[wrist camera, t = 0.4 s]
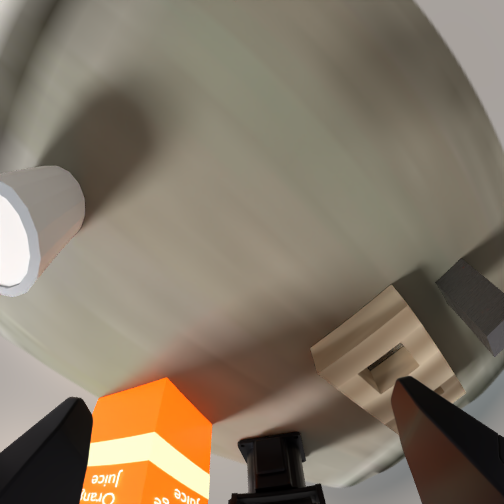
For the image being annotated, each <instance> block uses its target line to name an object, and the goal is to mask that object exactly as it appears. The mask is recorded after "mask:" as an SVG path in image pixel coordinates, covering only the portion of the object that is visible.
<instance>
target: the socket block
mask: <svg viewBox="0 0 504 504" xmlns="http://www.w3.org/2000/svg"><path fill="white" fill-rule="evenodd" d="M400 342H401V343H402V344H403V345H404V346H403V347H402V348H400V349H399V350H398V351H397V352H395V353H394V354H393V355H391V356H390V357H389V358H387V359H386V360H385V361H383V362H382V363H381V364H379V365H378V366H376V367H375V368H374V369H372V370H371V371H370V370H369V369H368V368H367V367H368V366H369V365H371V364H372V363H374V362H375V361H376V360H378V359H379V358H380V357H382V356H383V355H384V354H386V353H387V352H388V351H390V350H391V349H392V348H393V347H395V346H396V345H397V344H399V343H400ZM310 349H311V353H312V357H313V360H314V364H315V367H316V371H317V374H318V375H319V376H321V377H322V378H323V379H325V380H326V381H327V382H328V383H330V384H331V385H332V386H334V387H335V388H336V389H338V390H339V391H340V392H341V393H343V394H344V395H345V396H347V397H348V398H349V399H351V400H352V401H353V402H355V403H356V404H357V405H359V406H360V407H361V408H363V409H364V410H365V411H367V412H368V413H369V414H371V415H372V416H373V417H375V418H376V419H378V420H379V421H380V422H382V423H383V424H384V425H386V426H387V427H389V428H390V429H391V430H393V431H394V432H396V433H397V434H398V435H399V433H398V429H397V425H396V421H395V417H394V413H393V410H392V406H391V396H392V392H393V389H394V385H395V382H396V380H397V379H398V378H400V377H405V376H412V377H414V378H415V379H417V380H418V381H420V382H421V383H422V384H424V385H425V386H427V387H428V388H430V389H431V390H433V391H434V392H436V393H437V394H439V395H440V396H442V397H443V398H445V399H446V400H448V401H449V402H451V403H454V402H455V401H456V400H458V399H459V398H460V397H461V396H463V395H464V394H465V393H466V392H465V390H464V389H463V387H462V385H461V384H460V382H459V380H458V379H457V377H456V376H455V374H454V372H453V371H452V369H451V368H450V366H449V365H448V363H447V361H446V360H445V358H444V357H443V355H442V354H441V352H440V351H439V349H438V348H437V346H436V345H435V343H434V342H433V340H432V339H431V337H430V336H429V334H428V333H427V331H426V330H425V328H424V327H423V325H422V324H421V323H420V321H419V320H418V318H417V317H416V315H415V314H414V313H413V311H412V310H411V308H410V307H409V306H408V304H407V303H406V302H405V300H404V299H403V298H402V297H401V295H400V294H399V293H398V292H397V290H396V289H395V288H394V287H393V286H392V284H391V285H390V286H389V287H387V288H386V289H385V290H384V291H383V292H381V293H380V294H379V295H378V296H377V297H375V298H374V299H373V300H372V301H371V302H369V303H368V304H367V305H366V306H364V307H363V308H362V309H361V310H359V311H358V312H357V313H356V314H354V315H353V316H352V317H351V318H349V319H348V320H347V321H345V322H344V323H343V324H342V325H340V326H339V327H338V328H336V329H335V330H334V331H332V332H331V333H330V334H328V335H327V336H326V337H324V338H323V339H322V340H320V341H319V342H318V343H316V344H315V345H314V346H312V347H311V348H310Z"/></svg>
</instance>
